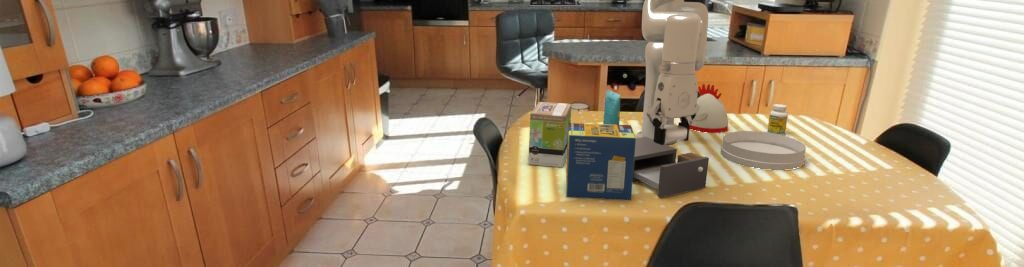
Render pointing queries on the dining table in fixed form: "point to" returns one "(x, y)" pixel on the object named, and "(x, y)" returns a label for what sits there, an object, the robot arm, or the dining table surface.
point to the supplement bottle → (778, 120)
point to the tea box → (549, 134)
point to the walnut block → (687, 157)
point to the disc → (675, 132)
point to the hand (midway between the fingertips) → (670, 140)
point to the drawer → (675, 176)
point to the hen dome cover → (710, 112)
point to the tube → (612, 108)
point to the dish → (763, 150)
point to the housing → (652, 154)
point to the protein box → (600, 161)
